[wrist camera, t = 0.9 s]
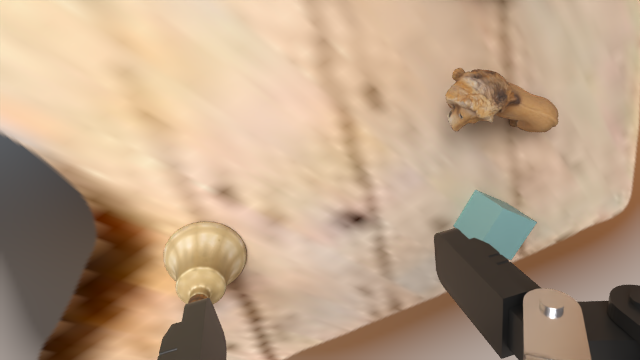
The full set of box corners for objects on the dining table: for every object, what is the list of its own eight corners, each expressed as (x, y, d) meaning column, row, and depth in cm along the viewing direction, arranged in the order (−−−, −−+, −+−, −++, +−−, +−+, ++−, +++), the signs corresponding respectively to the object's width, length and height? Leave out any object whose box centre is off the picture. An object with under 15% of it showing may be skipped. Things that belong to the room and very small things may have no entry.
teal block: (475, 189, 43) (503, 208, 38) (506, 202, 44) (536, 222, 40) (453, 225, 44) (478, 248, 40) (483, 237, 46) (511, 260, 41)
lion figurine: (410, 114, 38) (458, 137, 29) (423, 59, 36) (478, 68, 28) (529, 129, 41) (602, 153, 33) (547, 80, 39) (628, 93, 31)
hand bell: (161, 288, 39) (118, 440, 25) (165, 218, 36) (118, 342, 22) (241, 289, 41) (245, 430, 27) (250, 223, 38) (260, 340, 24)
